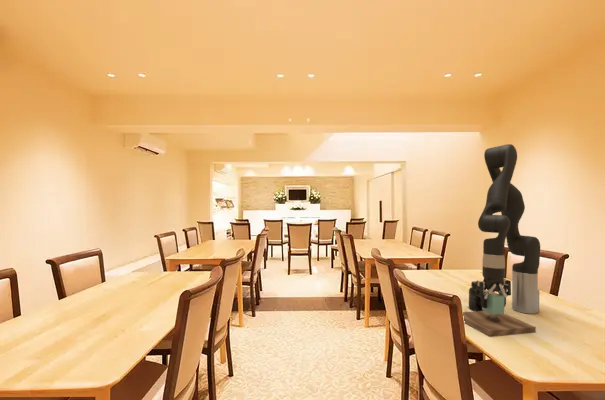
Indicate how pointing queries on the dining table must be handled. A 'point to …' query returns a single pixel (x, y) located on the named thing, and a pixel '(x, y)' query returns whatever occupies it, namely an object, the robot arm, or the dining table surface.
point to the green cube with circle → (495, 304)
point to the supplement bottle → (474, 298)
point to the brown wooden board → (496, 324)
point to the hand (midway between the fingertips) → (493, 307)
